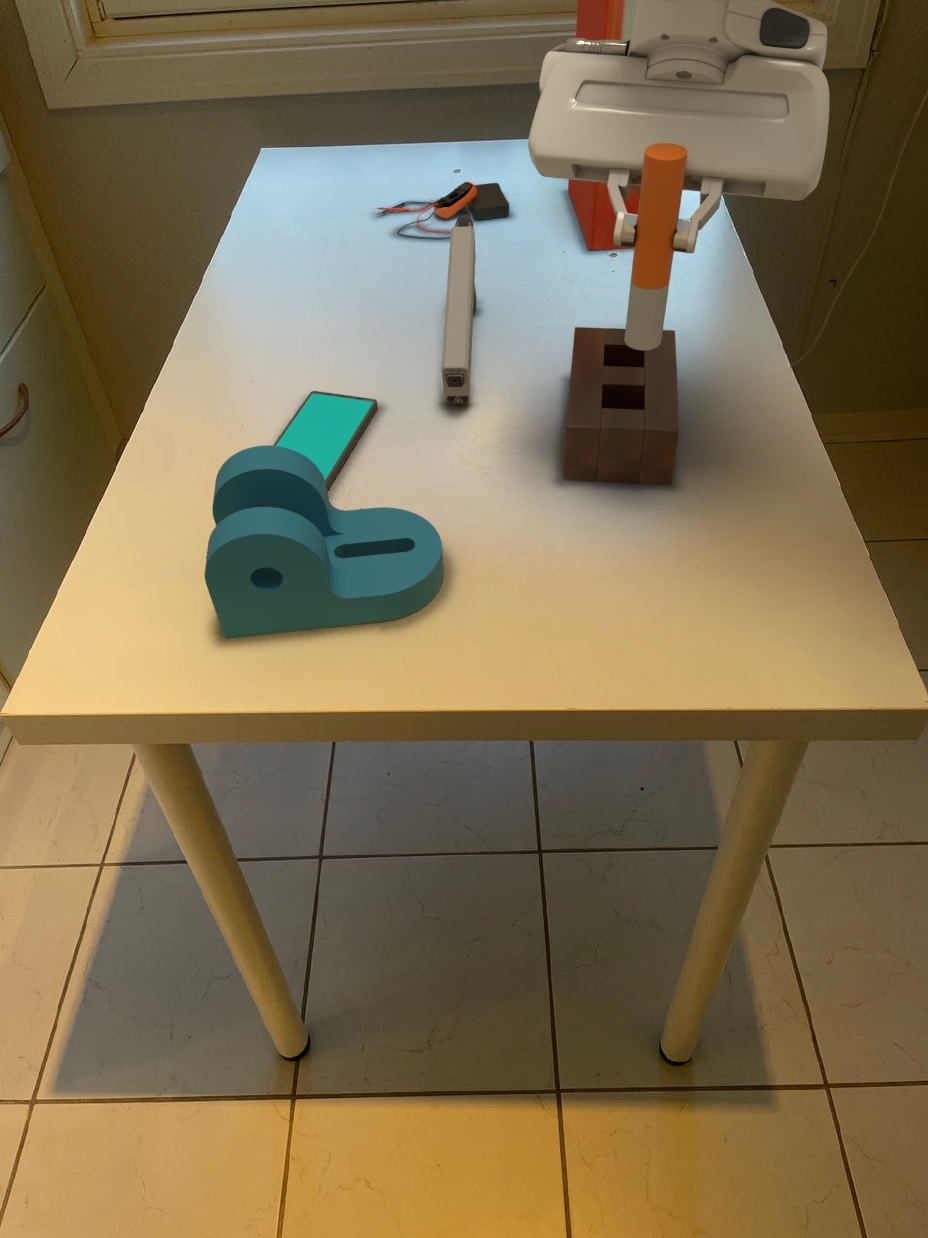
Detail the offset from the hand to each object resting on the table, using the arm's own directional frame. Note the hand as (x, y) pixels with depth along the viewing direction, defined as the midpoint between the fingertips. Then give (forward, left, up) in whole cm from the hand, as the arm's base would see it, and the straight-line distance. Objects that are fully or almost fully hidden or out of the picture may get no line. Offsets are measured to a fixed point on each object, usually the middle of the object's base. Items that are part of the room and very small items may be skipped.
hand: (653, 246), depth 65 cm
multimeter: (+25, -56, -24) cm, 66 cm away
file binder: (+3, -57, -24) cm, 62 cm away
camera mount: (+24, +12, -24) cm, 36 cm away
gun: (+18, -24, -24) cm, 38 cm away
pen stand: (+1, -11, -24) cm, 26 cm away
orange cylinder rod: (0, -1, -8) cm, 8 cm away
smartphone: (+30, -6, -24) cm, 39 cm away
